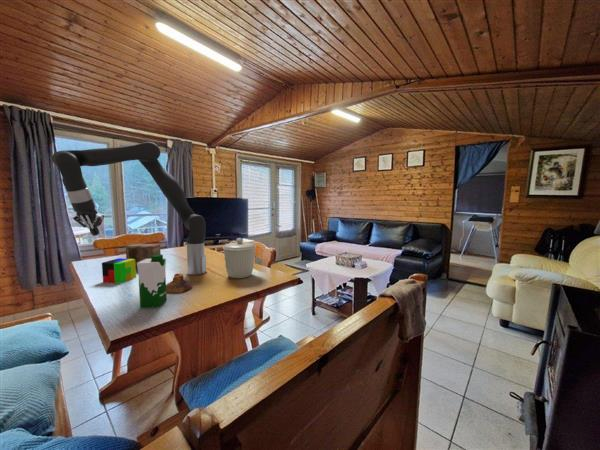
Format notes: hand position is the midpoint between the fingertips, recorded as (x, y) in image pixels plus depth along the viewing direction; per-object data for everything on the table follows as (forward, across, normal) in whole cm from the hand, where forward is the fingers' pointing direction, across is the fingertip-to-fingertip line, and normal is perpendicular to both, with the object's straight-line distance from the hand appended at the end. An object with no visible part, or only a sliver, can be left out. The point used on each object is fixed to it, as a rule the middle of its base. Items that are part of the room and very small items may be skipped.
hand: (95, 234), depth 119 cm
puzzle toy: (+29, +1, -4) cm, 29 cm away
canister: (+34, -59, -14) cm, 69 cm away
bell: (+26, -36, +7) cm, 45 cm away
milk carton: (+20, -35, +23) cm, 46 cm away
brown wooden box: (+36, +2, -24) cm, 43 cm away
